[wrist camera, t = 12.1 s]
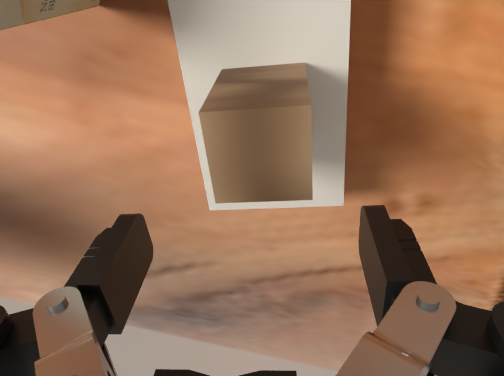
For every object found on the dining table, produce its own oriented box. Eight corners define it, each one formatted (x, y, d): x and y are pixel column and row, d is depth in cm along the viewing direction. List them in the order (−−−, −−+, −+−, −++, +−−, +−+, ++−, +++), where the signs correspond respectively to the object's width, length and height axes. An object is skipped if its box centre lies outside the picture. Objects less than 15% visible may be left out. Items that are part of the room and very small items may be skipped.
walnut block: (232, 143, 25) (215, 203, 19) (221, 69, 23) (198, 112, 17) (306, 139, 25) (312, 200, 19) (305, 62, 22) (311, 105, 16)
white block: (217, 182, 32) (209, 210, 28) (179, -35, 23) (161, -31, 20) (337, 177, 31) (343, 205, 27) (343, -54, 22) (353, -54, 19)
